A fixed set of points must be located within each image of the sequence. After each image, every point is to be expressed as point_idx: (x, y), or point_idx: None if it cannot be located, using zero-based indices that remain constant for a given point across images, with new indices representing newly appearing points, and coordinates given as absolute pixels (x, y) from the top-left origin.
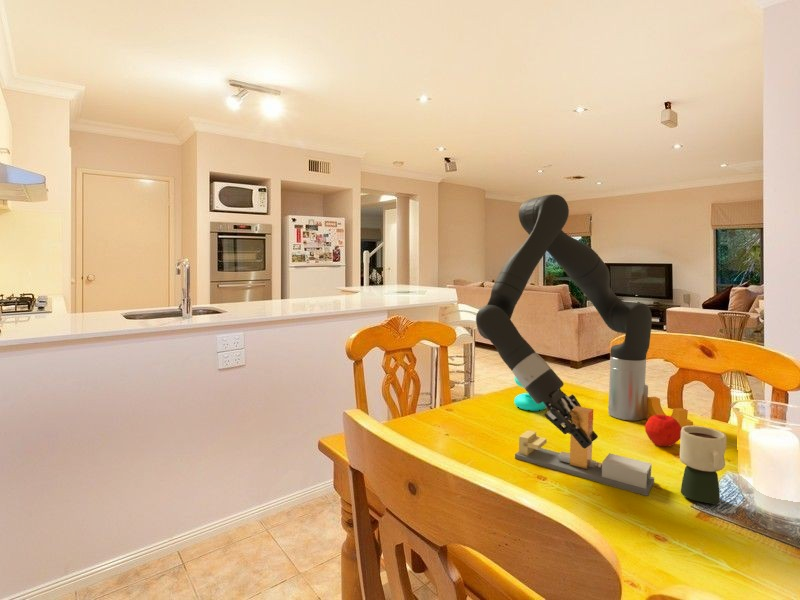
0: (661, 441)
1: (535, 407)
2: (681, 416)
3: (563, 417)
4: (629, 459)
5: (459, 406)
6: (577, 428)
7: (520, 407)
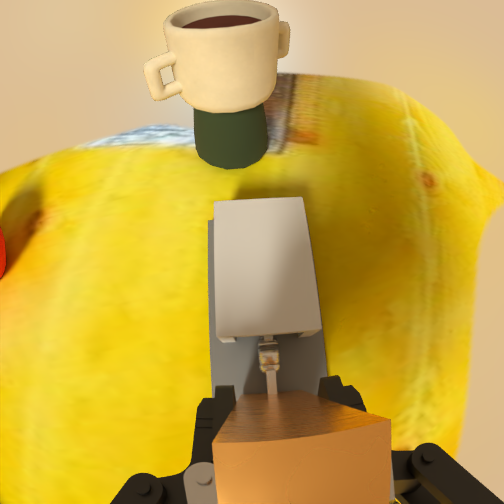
0: (4, 253)
1: None
2: None
3: (470, 498)
4: (227, 260)
5: None
6: None
7: None
